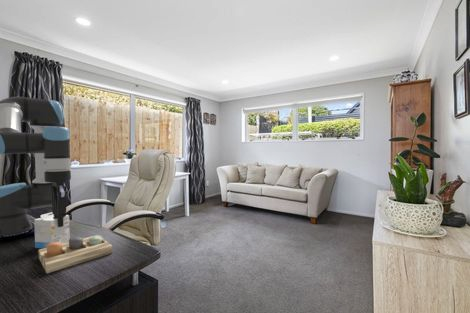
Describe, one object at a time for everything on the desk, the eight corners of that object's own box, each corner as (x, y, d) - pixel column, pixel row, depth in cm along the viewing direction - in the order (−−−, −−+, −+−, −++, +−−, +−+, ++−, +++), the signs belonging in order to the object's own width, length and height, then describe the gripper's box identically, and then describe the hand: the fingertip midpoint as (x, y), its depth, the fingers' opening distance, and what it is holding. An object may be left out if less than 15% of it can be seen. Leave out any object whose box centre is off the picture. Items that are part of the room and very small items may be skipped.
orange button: (45, 252, 83) (45, 244, 83) (60, 248, 86) (60, 240, 86) (48, 256, 80) (47, 247, 80) (63, 252, 83) (63, 243, 83)
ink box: (51, 249, 93) (50, 216, 92) (34, 247, 95) (33, 215, 94) (70, 241, 101) (69, 210, 101) (54, 239, 103) (53, 209, 103)
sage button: (87, 245, 93) (87, 238, 92) (99, 242, 96) (99, 234, 96) (90, 249, 90) (90, 241, 90) (103, 245, 93) (103, 237, 93)
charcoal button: (67, 247, 88) (67, 238, 88) (81, 243, 91) (81, 235, 91) (70, 250, 85) (70, 242, 85) (84, 246, 88) (84, 238, 88)
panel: (38, 257, 86) (38, 249, 86) (98, 241, 101) (98, 234, 101) (46, 273, 75) (46, 264, 75) (112, 252, 90) (112, 245, 90)
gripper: (40, 169, 85) (42, 233, 86) (48, 172, 76) (51, 243, 77) (65, 168, 90) (67, 228, 91) (75, 170, 82) (77, 236, 83)
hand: (59, 234), depth 84 cm, fingers closed
